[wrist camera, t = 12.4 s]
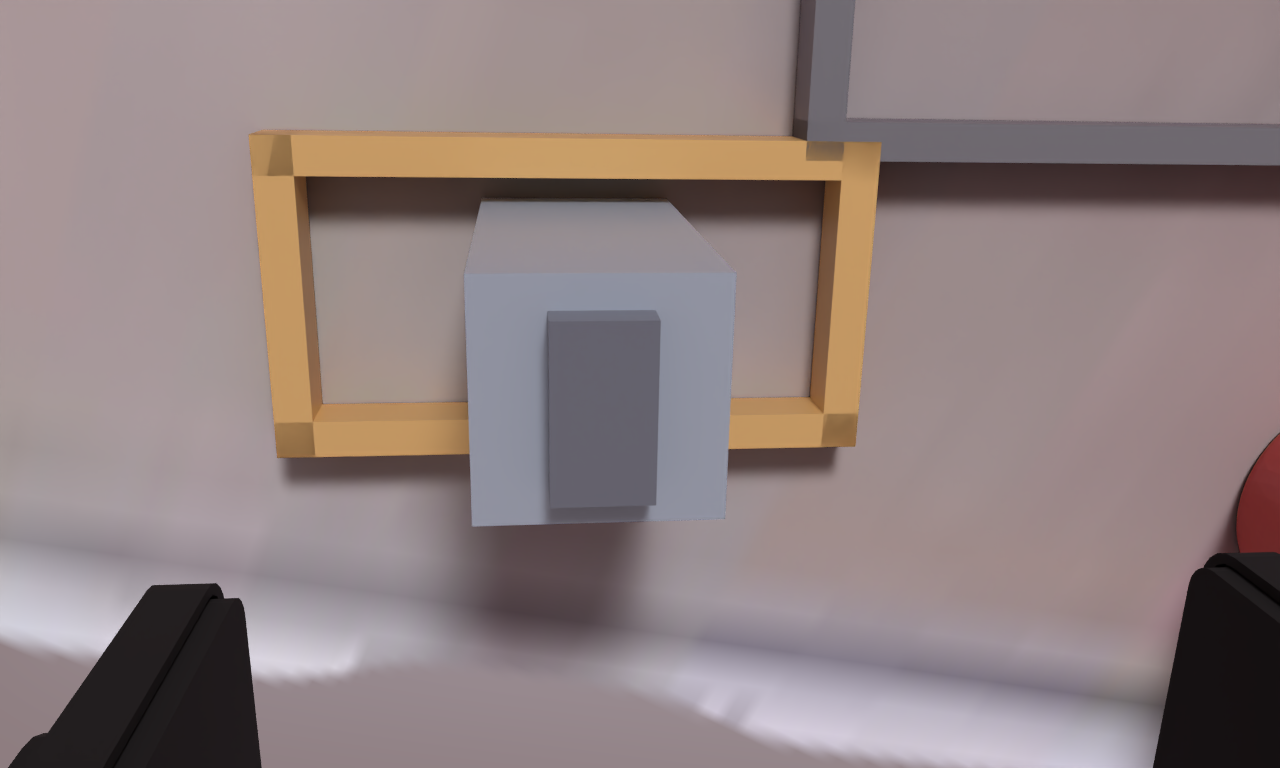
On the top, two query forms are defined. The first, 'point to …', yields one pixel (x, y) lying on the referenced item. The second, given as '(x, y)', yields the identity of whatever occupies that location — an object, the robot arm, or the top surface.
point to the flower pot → (1261, 504)
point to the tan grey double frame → (812, 153)
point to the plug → (596, 363)
